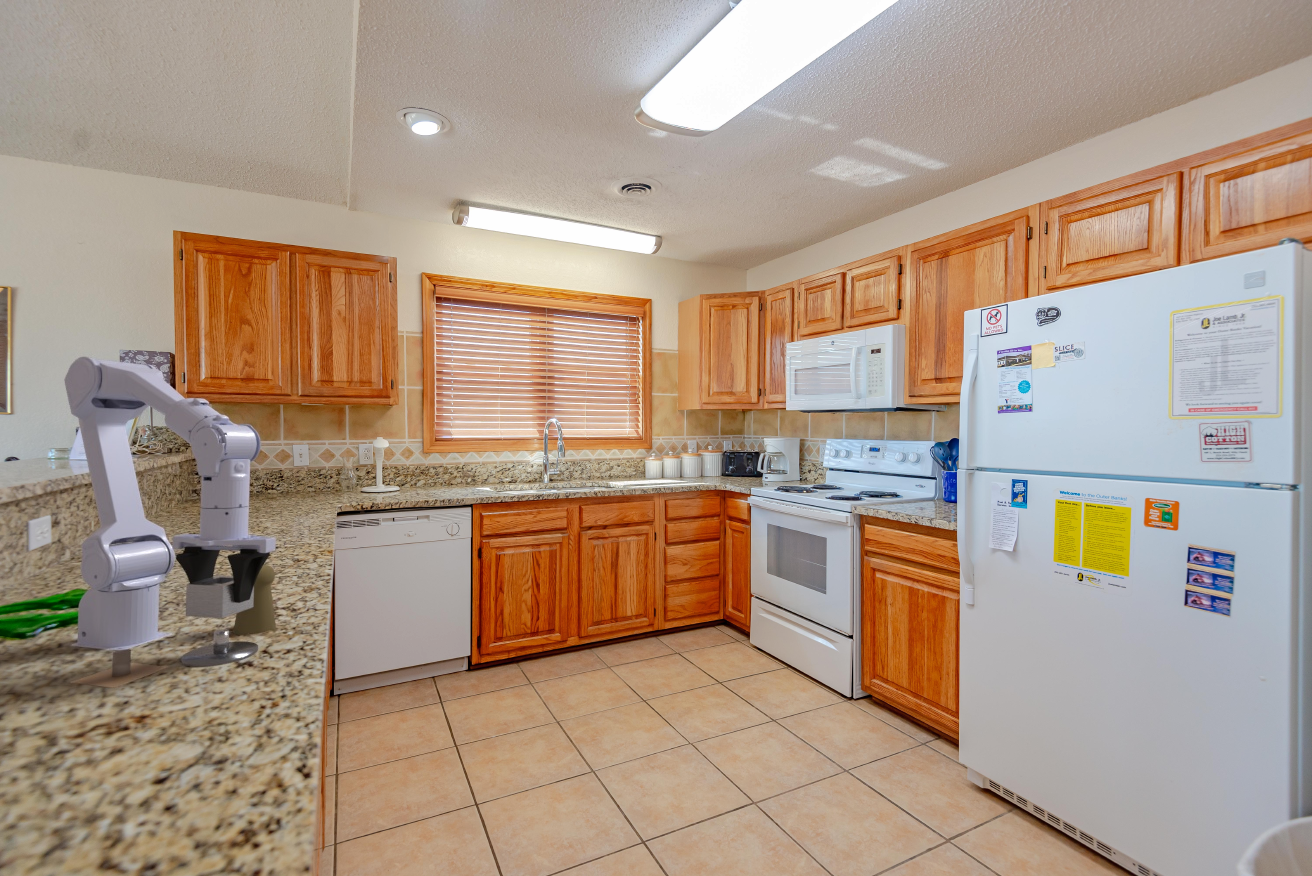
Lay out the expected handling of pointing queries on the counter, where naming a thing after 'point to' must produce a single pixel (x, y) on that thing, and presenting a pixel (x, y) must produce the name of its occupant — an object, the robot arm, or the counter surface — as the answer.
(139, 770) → the counter surface
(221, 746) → the counter surface
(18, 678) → the counter surface
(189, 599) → the square metal tube
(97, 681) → the stand
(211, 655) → the hub
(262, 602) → the cork
